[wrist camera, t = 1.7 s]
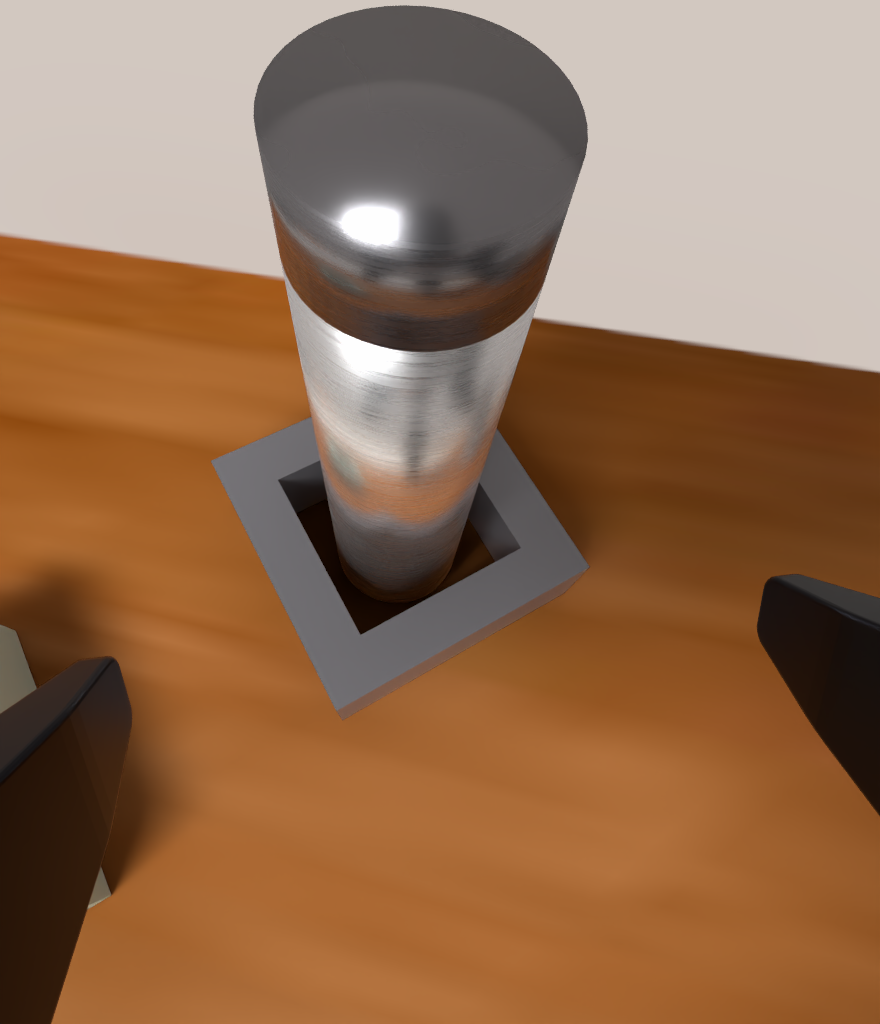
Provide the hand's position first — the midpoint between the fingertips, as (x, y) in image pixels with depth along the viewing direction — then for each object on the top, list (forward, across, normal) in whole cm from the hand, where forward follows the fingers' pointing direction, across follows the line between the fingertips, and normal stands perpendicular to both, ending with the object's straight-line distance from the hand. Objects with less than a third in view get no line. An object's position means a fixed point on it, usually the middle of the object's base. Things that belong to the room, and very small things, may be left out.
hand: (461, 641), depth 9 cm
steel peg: (+13, 0, +5) cm, 14 cm away
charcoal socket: (+13, 0, +5) cm, 14 cm away
